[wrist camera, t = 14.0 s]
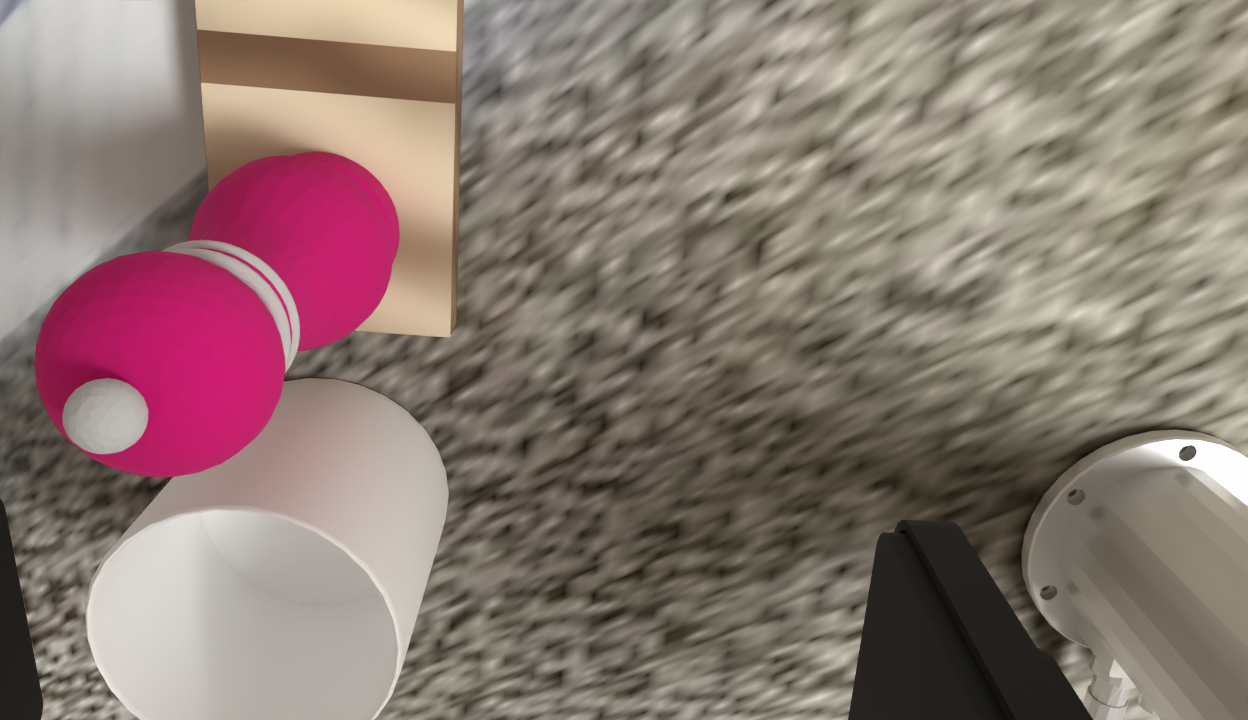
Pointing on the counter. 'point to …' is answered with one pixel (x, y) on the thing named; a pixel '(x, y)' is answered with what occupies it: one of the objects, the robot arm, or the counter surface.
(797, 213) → the counter surface
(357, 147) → the wooden divided tray
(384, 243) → the pepper mill
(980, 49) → the counter surface
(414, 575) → the cup
